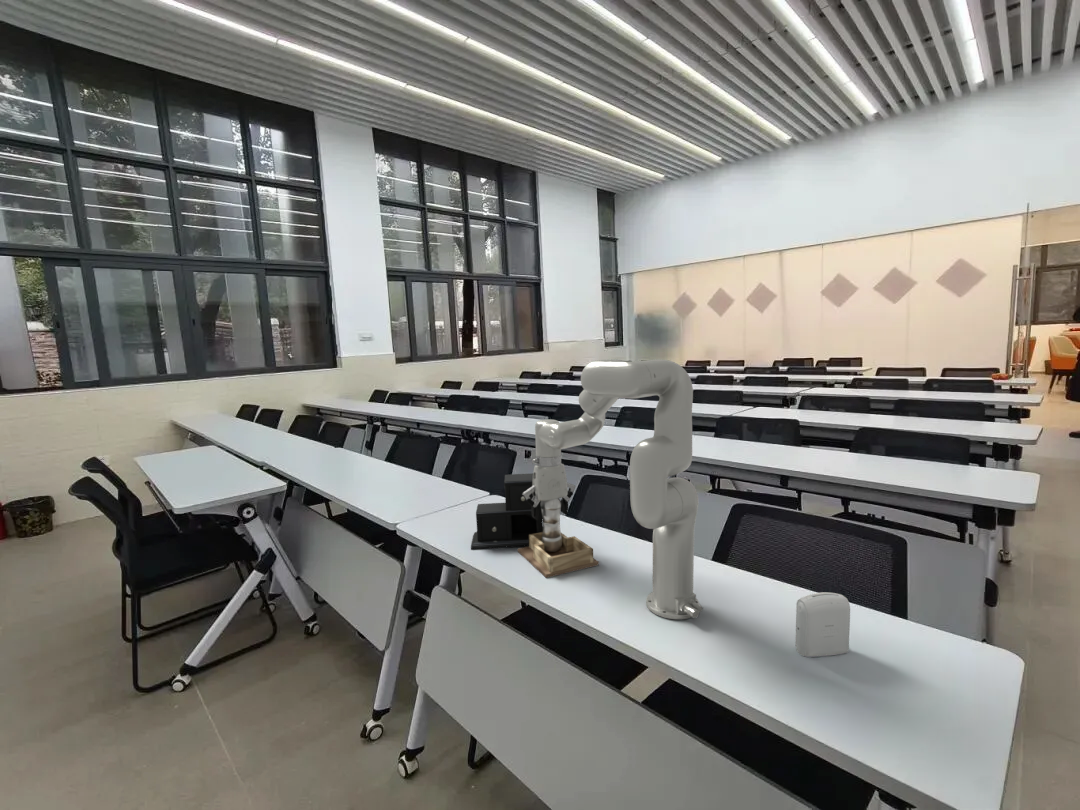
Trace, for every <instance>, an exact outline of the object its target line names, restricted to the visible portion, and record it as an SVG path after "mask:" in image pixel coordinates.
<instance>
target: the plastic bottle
mask: <svg viewBox="0 0 1080 810" xmlns="http://www.w3.org/2000/svg"><path fill="white" fill-rule="evenodd" d="M541 511H542V520H543V534H542V541H541V542H542V543H544V550H545V551H548V552H556V551H559V550H560V549H561V547H562V537H561V533H562V532H561V525H560V524H561V513H562V512H561V498H558V499H552V500H546V501H541Z"/></svg>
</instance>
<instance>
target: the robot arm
mask: <svg viewBox="0 0 1080 810" xmlns="http://www.w3.org/2000/svg"><path fill="white" fill-rule="evenodd" d="M580 374H581V375H580V384H581V387H582V388H583V389H582V391H581V392H580V393H579V396H578V403H579V406H580V408H581V409H582V410H583V414H582V415H581V416H580V417H579V418H578V419H572V420H567V421H562V422H560V421H559V420H556V419H540V420H538V421H536V422H535V425H534V426H535V427H534V430H535V431H534V432H535V437H534V439H535V458H533V459H532V460H531V462H532V464H534V468H533V472H532V473H533V480H532V487H530V488H529V489H528V490H526V491H525V492H523V496H524V498H525V500H526V501H527V502H528V503H529V504H530V505H531V515H532V517H533V518H534V519H536V520H538V519H539V508H538V507H537V505H538V503H539V502H540V501H546V500H552V499H558V498H559V499H560V501H561V512H560V513H561V514H562V513H563V514H564V515H568V511H569V502H570V500H571V498H572V496H573V495H574V491H575V489H576V485H574V484H572V483H569V482H568V479H567V472H566V468H565V464H564V463H562V450H564V449H570V448H572V447H577V446H583V445H585V444H587V443H589V442H591V441H592V439H594V437H596V435H597V434H599V432H600V431H601V430H602V428H603V427H604V425H605V420H606V414H607V412H608V411H609V410H610V408H611V407H612V406H613V405H614V404H616V402H617V401H618V400H619V399H640V398H647V397H652V396H653V397H654V396H658V397H659V400H658V402H657V405H656V408H655V411H654V417H653V422H654V426H653V427H654V428H653V430H654V431H653V436H652V437H647V438H644V439H643V440H640V441H638V442H637V444H635V446H634V447H633V449H632V452H631V455H630V457H629V458H630V460H629V485H630V486H629V489H630V490H629V491H630V492H629V493H630V494H629V495H630V499H629V500H630V507H631V512H632V514H633V517H634V519H635V520H636V522H637V523H638V524H639V525H640V526H641V527H643V528H646V529H649V530H652V531H653V532H652V592H650V593H649V594H648V595H647V596H646V598H645V605H646V608H647V609H648V610H649V611H650V612H651V613H653V614H655V615H656V616H659V617H662V618H665V619H669V620H687V619H691V618H692V619H697V618H698V617H699V615H700V614H699V613H700V612H702V611H703V608H704V607H703V606H702V605H701V604H700V601H699V600H698V599H697V593H696V594H695V593H694V565H695V563H694V562H695V560H694V559H695V556H694V555H695V554H694V553H695V529H696V527H695V526H696V521H697V516H698V515H697V514H698V510H699V494H698V492H697V489H696V487H695V486H694V484H693V483H692V482H690V481H689V480H687V479H686V478H683V477H677V476H676V475H678V474H681V473H683V472H685V471H687V470H688V469H689V467H690V466H691V464H692V461H693V413H692V412H693V400H694V388H693V383H692V380H691V379H692V378H691V377H690V375H689V373H688V372H687V370H685V368H683V366H682V365H680V364H678V363H676V362H674V361H672V360H668V359H647V360H634V361H632V360H631V361H630V360H629V361H625V360H623V359H618V358H617V359H616V358H614V359H610V358H609V359H598V360H593V361H590V362H589V363H587V364H586V365H585V366H584V368H583V369H582V372H581V373H580ZM672 476H676V477H672ZM531 493H532V494H533V498H532V500H531V499H530V497H529V495H530V494H531Z"/></svg>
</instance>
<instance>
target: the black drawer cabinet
mask: <svg viewBox="0 0 1080 810" xmlns="http://www.w3.org/2000/svg"><path fill="white" fill-rule="evenodd" d="M532 480H533V472H531V473H516V474H515V473H510V474H505V475H504V481H503V483H504V485H503V486H504V497H505V499H504V500H505V501H504V502H491V503H478V504H477V507H476V511H475V518H476V531H475V532H473V535H472V538H471V543H470V549H471V550H487V549H488V550H489V549H504V548H523V547H528V546H529V535H530V534H535V533H540V532H543V519H542V511H541V501H540V502H539V503H538V505H537V507H538V508H539V519H538V520H536V519H534V518H533V517H532V515H531V505H530V504H529V503H528V502H527V501H526V500H525V498H524V496H523V492H525V491H526V490H528V489H529V488H530V487H532ZM529 497H530V499H531V500H532V498H533V494H532V493H531V494H530V495H529Z"/></svg>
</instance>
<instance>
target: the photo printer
mask: <svg viewBox="0 0 1080 810" xmlns="http://www.w3.org/2000/svg"><path fill="white" fill-rule="evenodd" d="M795 605H796V610H795V612H796V613H795V642H794V643H795V647H796V651H797V652H798V654H799V655H801V656H803V657H806V658H813V657H825V656H834V655H843V654H847V653H849V648H850V630H851V629H850V627H851V626H850V625H851V624H850V623H851V606H850V602H849V600H848V598H847V597H846V596H844V595H843V594H841V593H835V592H825V591H824V592H823V591H822V592H816V593H810V594H807V595H804V596H802V597H800V598H798V599H797V601H796V604H795Z"/></svg>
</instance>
